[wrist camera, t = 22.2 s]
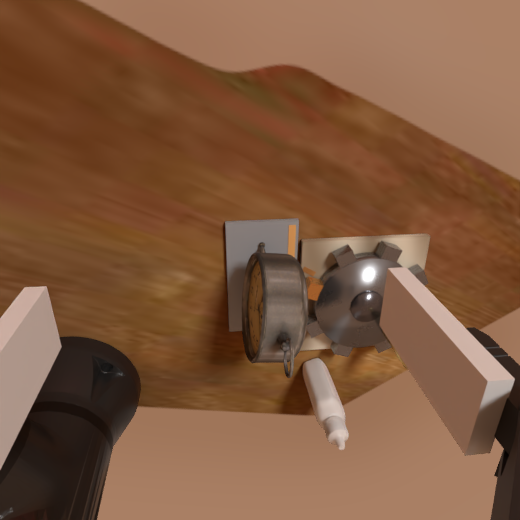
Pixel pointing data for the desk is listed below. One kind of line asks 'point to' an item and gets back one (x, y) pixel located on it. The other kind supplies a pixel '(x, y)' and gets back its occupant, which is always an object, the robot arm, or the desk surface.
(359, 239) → the plate
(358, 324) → the sprocket
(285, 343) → the alarm clock
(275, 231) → the pad
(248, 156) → the desk surface
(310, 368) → the eye dropper bottle
